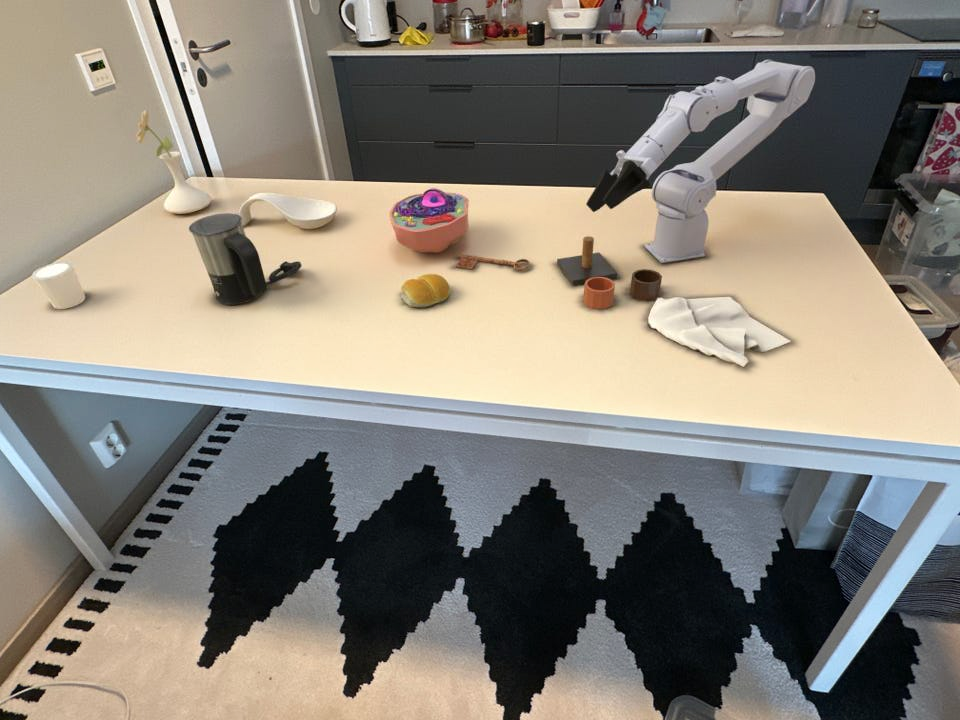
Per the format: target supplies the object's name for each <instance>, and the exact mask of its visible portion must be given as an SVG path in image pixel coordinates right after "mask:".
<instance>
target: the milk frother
mask: <svg viewBox="0 0 960 720" xmlns="http://www.w3.org/2000/svg"><path fill="white" fill-rule="evenodd" d="M241 222H242V217H241V216H240V215H239V214H237V213H234V212H233V213H231V212H223V213H215V214H210V215H206V216H204V217H201V218H198V219H196V220H195V221H194V222H192V223H191V224H190V225H189V227H188V231H189V232H190V233H191V234H192V236H193V239H194V242H195V244H196V248H197V249H198V252H199V254H200V257H201V260H202V262H203V264H204V267H205V270H206V271H207V274H208V277H209V280H210V282H211V285H212V288H213V292H214V294H215V295H214V297H215V300H216V302H218V303H219V304H222V305H225V306H227V305H228V306H233V305H241V304H244V303H248V302H250V301H252V300H255V299H257V298H258V297H260V296H261V295H262V294H264V293H266V292H267V291H268V286H270V285H272V284H275V283H277V282H280V281H282V280H283V279H284V280H285V279H286V278H288V277H290V276H292V275H293V274H295V273H297V272H298V270H300V269H301V268H302V266H303V265H302V262H301V261H293V262H288V261H283V262H282V263H281V264H280V265H279V267H278V268H276V269H275V270H274V271H272V272H271V273H270V274H269V276H268V280H269V281H266V277H265V273H264V270H263V266H262V263H261V259H260V254H259V251H258V250H257V248H256V246H255V244H254V243H253V242H252V241H251V239H250V238H249V237H247V235H246V232H245V229H244V225H243V226H242V223H241ZM281 272H283V273H281ZM278 274H279V275H278Z"/></svg>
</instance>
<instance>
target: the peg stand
mask: <svg viewBox="0 0 960 720" xmlns="http://www.w3.org/2000/svg"><path fill="white" fill-rule="evenodd" d="M594 241H595V238H594V237H593V236H589V235H587V236H584V237H583V238H582V249H581V250H582V252H581V254H580V255H574V256H567V257H562V258H557V259H556V265H557V266H558V268H559V269H560V270H561V272H562V274H563V275H564V276H565V278H566V279H567V280H568V282H569V283H570V285H571V286H572V287H575V286H580V285H585V282H586V280H588V279H590V278H593V277H606V278H608V279H611V280H612V281H613V280H617V279H618V272H617V270H616V269H615V268H614V267H613V266H612V265H611V264H610V263H609V261H607V259H606V258H605V257H604V256H603V254H602V253H600V252H594V243H595V242H594Z"/></svg>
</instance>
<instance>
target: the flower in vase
mask: <svg viewBox="0 0 960 720" xmlns="http://www.w3.org/2000/svg"><path fill="white" fill-rule="evenodd" d="M149 117H150V116H149V111H148V110H146V109H143V111H142V112H141V122H138V128H139V130H138V132H137V133H136V138H137V140H136V143H139V144H142V143H143V142H144V140H145V136H146V134H147V132H148V131H149V132H150V133H151V134H152V135H153V136H154V137H155V138H156V139H157V141H159V143H160V145H159V146H158V147H157V149H156V157H158V158H159V159H160V160H162V161H163V162H164V163H165V165H167V167H168V169H169V170H170V173H171V175H172V177H173V181H174V187H173V189H172V190H171V192H170V193H169V195H168V196H167V197H166V199H165V200H164V202H163V209H164V210H165V211H167V212H168V213H170V214H177V215H181V214H183V215H184V214H190V213H194V212H197V211H200V210H202V209H205V208H206V207H208V206H209V205H210V204H211V202H212V196H211V195H210V194H209V193H208V192H206V191H204V190H202V189H200V188H197V187H195V186H193V185H191V184H189V183H188V182H187V181H186V179H185V177H184V174H183V172H182V168H181V156H182V152H181V151H170V150H171V149H172V148H173V146H174V144H173V143H172V141H171V140H170V139H169V138H168V137H167V136H164V138H163V140H161V139H160V138H159V136H157V134H156V133H155V132H154V131H153V130H152V129H151V128H150V126H149ZM163 150H165V153H162V152H163Z"/></svg>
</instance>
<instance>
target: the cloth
mask: <svg viewBox="0 0 960 720" xmlns="http://www.w3.org/2000/svg"><path fill="white" fill-rule="evenodd" d="M647 324H648V326H649V328H650V329H656V330H657V332H658V333H660V334H661V335H663V336H664V337H666V338H667V339H669V340H671V341H674V342H676V343H677V344H679V345H681V346H685V347H688V348H689V349H690V350H693V351H697V352H700V353H702V354H704V355H705V356H708V357H713V358H717V359H720V360H722V361H724V362H726V363H731V364H737V365H739V366H741V367H743V368H744V367H745V366H746V365H747V364H748V363H749V360H748V358H747V357H746V356H745V350H752V351H756V352H760V353H765V352H769V351H771V350H774V349H776V348H780V347H782V346H784V345H786V344H789V343H791V340H790V339H788V338H786V337H785V336H783V335H782V334H780V333H778V332H776V331H774V330H773V329H772V328H769V327H768V326H766V325H764V324H762V323H761V322H759V321H758V320H756V319H754V318H752V317H750V315H749V314H748V313H747V311H745V309H744V308H743V306H742V305H741V304H740V303H739V302H737V301H736V300H734V299H733V297H732V296H724V297H723V296H720V297H699V298H685V297H679V296H675V297H674V296H673V297H672V298H666V299H665V298H663V297H658V298H656V299H655V302H654V303H653V306H652V307H651V309H650V311H649V314H648V316H647Z"/></svg>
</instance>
